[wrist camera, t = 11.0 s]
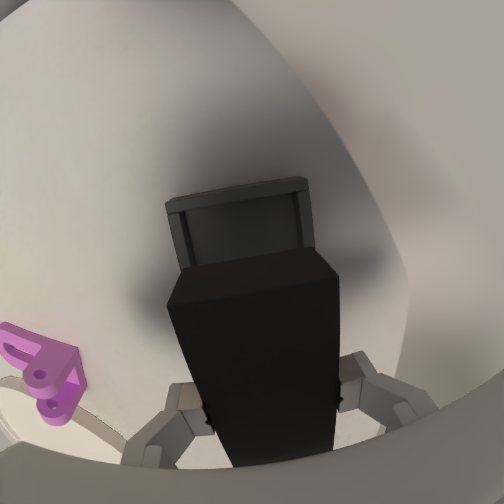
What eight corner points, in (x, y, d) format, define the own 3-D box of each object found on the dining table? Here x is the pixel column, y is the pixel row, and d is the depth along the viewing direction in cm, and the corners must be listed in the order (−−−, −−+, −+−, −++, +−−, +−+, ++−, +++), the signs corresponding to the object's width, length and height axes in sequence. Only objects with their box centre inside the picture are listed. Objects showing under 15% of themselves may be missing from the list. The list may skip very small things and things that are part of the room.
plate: (-8, 410, 26) (-13, 418, 24) (7, 342, 22) (-3, 353, 19) (108, 490, 34) (106, 499, 31) (184, 464, 29) (182, 478, 27)
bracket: (77, 347, 22) (47, 393, 15) (87, 385, 24) (64, 431, 17) (-6, 317, 21) (-39, 347, 14) (6, 354, 22) (-21, 386, 16)
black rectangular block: (182, 267, 10) (165, 305, 8) (312, 245, 11) (339, 275, 8) (233, 427, 14) (234, 469, 11) (319, 412, 14) (332, 452, 11)
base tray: (170, 198, 19) (164, 202, 17) (300, 176, 19) (307, 177, 17) (211, 356, 23) (210, 371, 21) (315, 338, 23) (321, 352, 21)
